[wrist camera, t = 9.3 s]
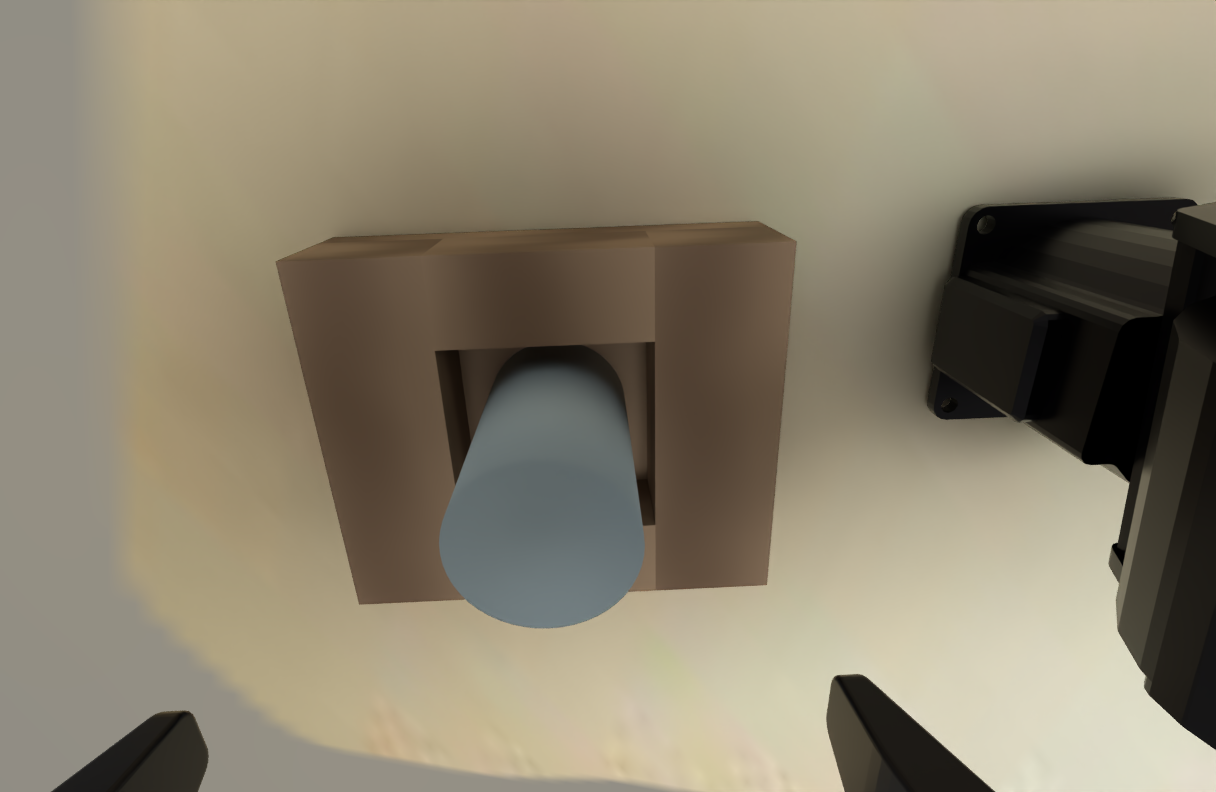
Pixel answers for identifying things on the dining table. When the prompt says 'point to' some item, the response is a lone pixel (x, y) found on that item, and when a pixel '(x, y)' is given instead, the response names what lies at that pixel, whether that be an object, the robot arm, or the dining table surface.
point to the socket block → (548, 316)
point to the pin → (547, 494)
